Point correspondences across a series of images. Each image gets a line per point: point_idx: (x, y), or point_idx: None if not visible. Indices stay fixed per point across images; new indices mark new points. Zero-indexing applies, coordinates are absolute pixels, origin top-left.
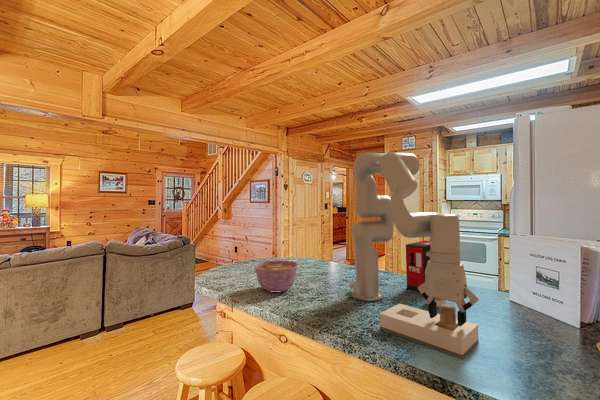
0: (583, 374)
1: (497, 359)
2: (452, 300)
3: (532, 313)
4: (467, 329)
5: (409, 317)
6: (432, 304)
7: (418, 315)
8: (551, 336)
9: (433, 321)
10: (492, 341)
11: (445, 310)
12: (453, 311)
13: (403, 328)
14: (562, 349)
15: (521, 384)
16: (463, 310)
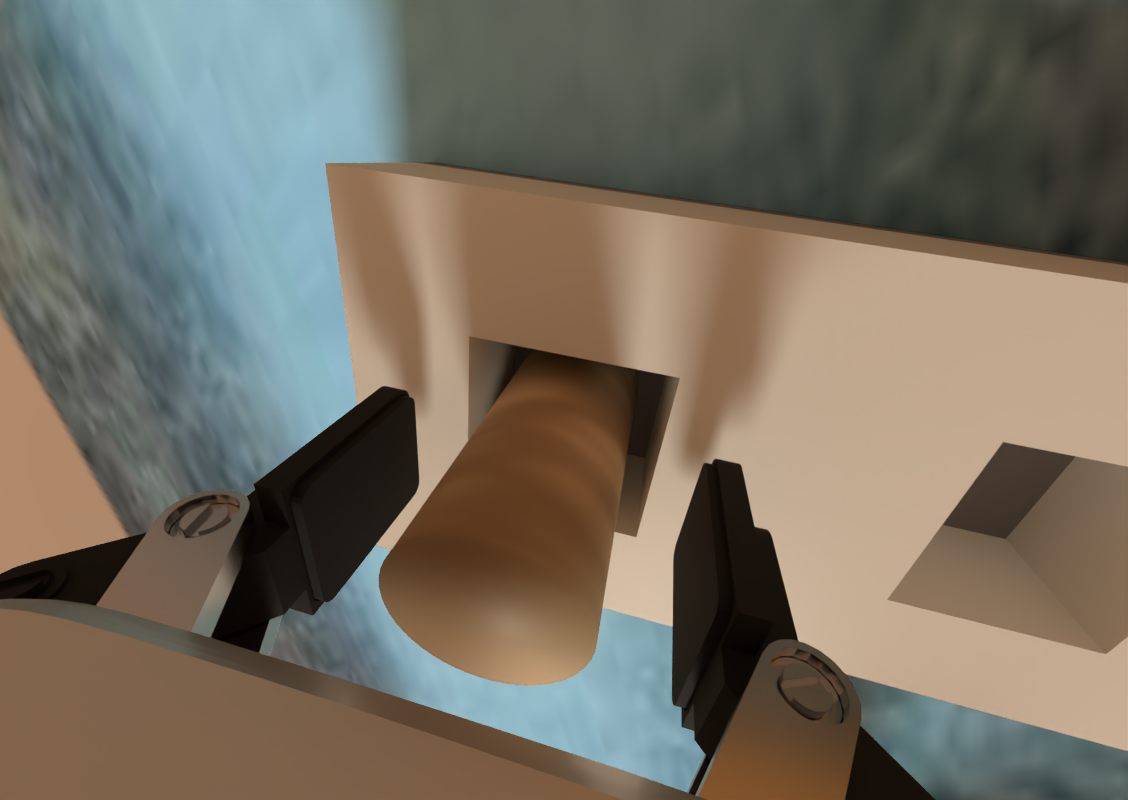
0: (60, 376)
1: (296, 309)
2: (77, 639)
3: None
4: None
5: (970, 565)
6: (719, 638)
7: (891, 546)
8: None
9: (699, 465)
10: None
11: (483, 513)
12: (402, 534)
13: (1061, 264)
14: None
15: (87, 58)
16: (196, 514)
